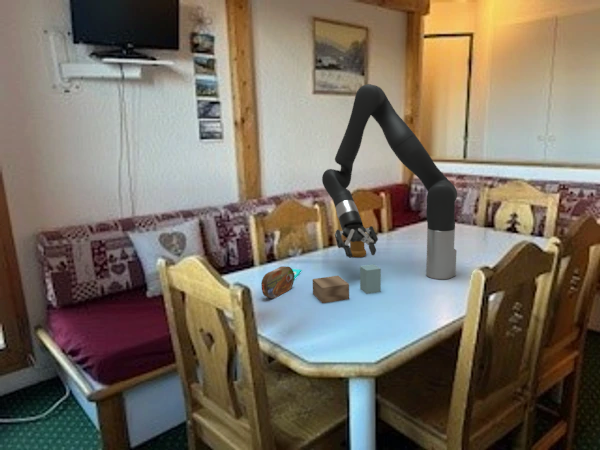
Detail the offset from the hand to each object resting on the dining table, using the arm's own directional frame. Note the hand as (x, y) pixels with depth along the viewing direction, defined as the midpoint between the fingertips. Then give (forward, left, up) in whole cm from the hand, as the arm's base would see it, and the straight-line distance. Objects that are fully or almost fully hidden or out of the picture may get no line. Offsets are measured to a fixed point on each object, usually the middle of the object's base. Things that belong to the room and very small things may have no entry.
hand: (362, 255), depth 160 cm
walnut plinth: (+14, +6, -10) cm, 18 cm away
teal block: (0, +6, -10) cm, 12 cm away
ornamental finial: (-13, -33, -11) cm, 37 cm away
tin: (+29, -3, -11) cm, 31 cm away
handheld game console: (+23, -18, -11) cm, 31 cm away
